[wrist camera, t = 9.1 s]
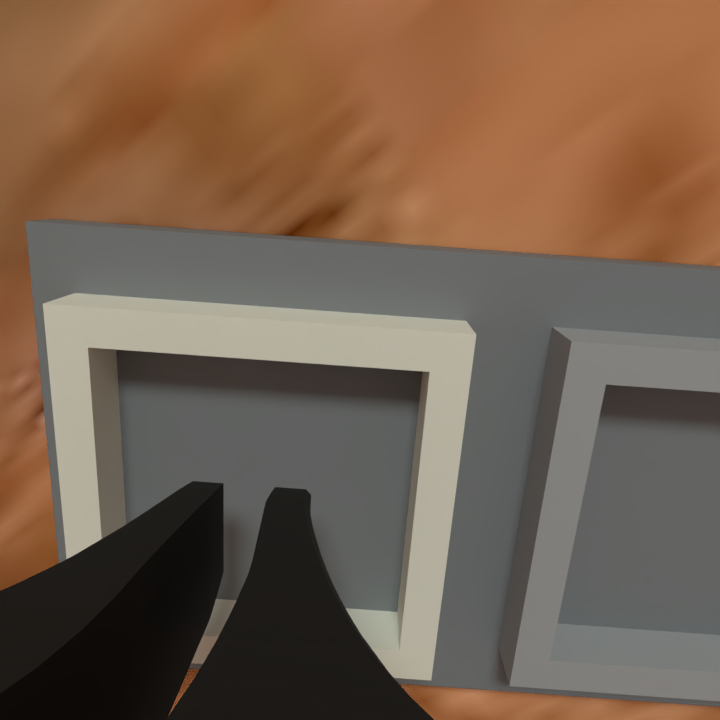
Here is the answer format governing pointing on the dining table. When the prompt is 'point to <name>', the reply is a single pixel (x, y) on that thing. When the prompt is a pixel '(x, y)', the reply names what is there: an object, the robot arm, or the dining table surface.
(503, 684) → the socket board
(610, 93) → the dining table surface
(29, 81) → the dining table surface
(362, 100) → the dining table surface
